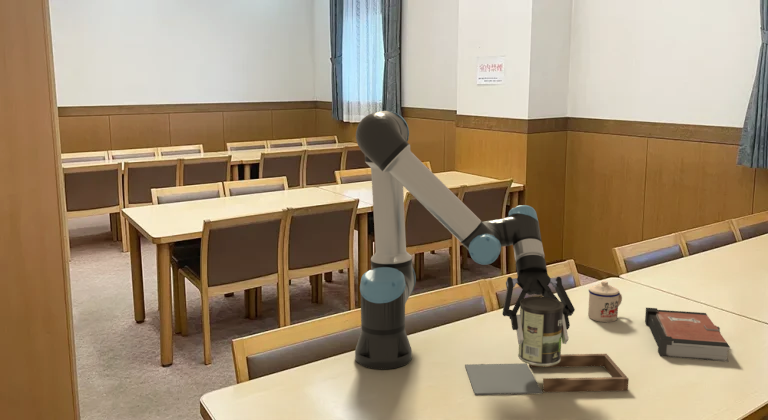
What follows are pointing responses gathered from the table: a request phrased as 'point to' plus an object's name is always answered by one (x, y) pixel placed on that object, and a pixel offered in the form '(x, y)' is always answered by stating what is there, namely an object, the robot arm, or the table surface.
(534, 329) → the coffee can
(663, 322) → the book
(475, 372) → the rubber mat
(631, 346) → the table surface
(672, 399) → the table surface
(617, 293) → the teacup with lid
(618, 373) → the frame
